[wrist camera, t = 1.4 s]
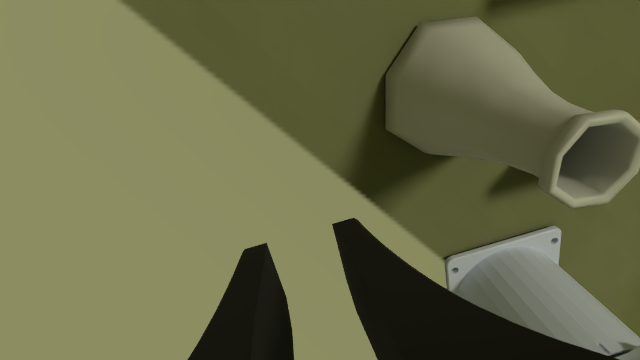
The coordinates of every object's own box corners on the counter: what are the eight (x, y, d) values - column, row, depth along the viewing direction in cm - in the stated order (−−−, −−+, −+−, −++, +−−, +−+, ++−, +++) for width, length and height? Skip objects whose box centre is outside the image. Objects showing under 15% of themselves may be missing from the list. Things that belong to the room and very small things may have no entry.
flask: (477, 161, 23) (624, 271, 14) (363, 140, 21) (448, 251, 12) (533, 33, 20) (764, 69, 11) (407, -4, 18) (561, 3, 9)
